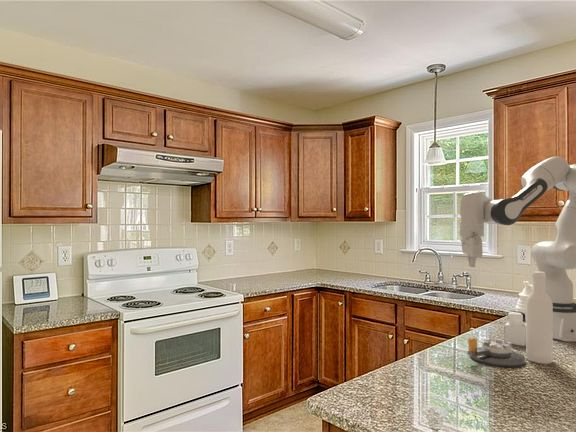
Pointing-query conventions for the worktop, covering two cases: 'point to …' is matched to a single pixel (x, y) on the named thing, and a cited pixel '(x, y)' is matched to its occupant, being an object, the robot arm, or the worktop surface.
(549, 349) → the bottle
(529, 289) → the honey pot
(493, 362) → the flange
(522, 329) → the medicine bottle
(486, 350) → the crank handle dial
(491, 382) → the worktop surface
